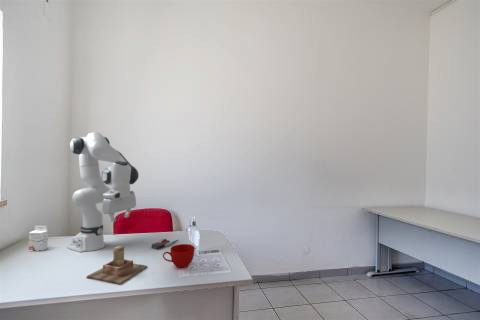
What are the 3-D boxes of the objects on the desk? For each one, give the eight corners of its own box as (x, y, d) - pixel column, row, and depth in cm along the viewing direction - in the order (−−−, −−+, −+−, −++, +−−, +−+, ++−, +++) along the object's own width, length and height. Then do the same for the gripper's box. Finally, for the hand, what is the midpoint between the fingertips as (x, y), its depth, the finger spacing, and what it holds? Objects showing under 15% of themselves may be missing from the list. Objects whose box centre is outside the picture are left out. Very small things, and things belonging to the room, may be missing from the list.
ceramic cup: (161, 264, 146) (161, 246, 146) (191, 260, 153) (191, 242, 153) (164, 274, 134) (164, 254, 134) (196, 269, 141) (197, 250, 141)
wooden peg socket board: (86, 278, 128) (86, 268, 128) (116, 262, 147) (117, 253, 147) (120, 284, 122) (120, 274, 122) (147, 267, 141) (147, 258, 141)
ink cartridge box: (28, 251, 161) (28, 227, 161) (34, 248, 166) (34, 225, 166) (42, 251, 161) (42, 227, 161) (48, 248, 166) (48, 225, 166)
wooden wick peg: (113, 271, 133) (113, 248, 133) (118, 268, 137) (118, 245, 137) (118, 272, 132) (119, 249, 132) (123, 269, 136) (124, 246, 136)
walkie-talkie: (160, 251, 166) (179, 242, 185) (160, 244, 166) (179, 236, 185) (149, 249, 170) (169, 240, 188) (149, 242, 170) (169, 234, 188)
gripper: (129, 189, 146) (129, 214, 147) (100, 195, 127) (99, 223, 127) (139, 190, 144) (138, 215, 145) (110, 196, 125) (110, 224, 125)
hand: (120, 219), depth 136 cm, fingers open, 8 cm apart
